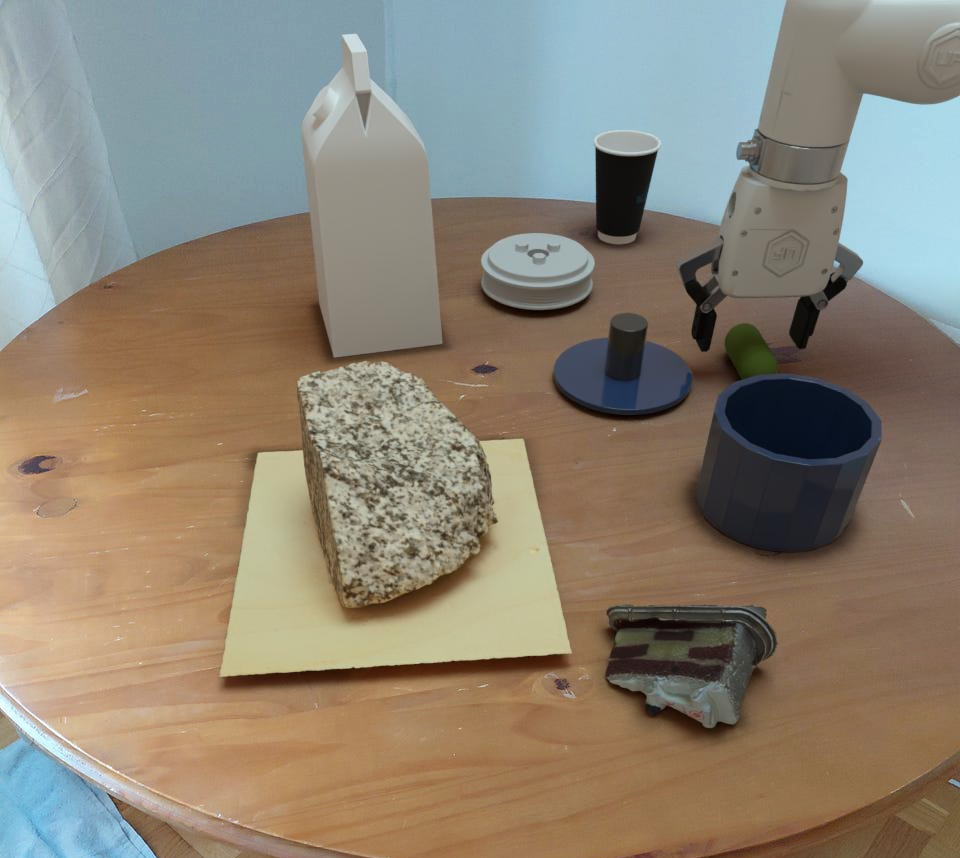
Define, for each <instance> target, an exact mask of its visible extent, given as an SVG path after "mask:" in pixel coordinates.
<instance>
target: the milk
mask: <svg viewBox="0 0 960 858" xmlns="http://www.w3.org/2000/svg"><path fill="white" fill-rule="evenodd" d="M341 54H342V55H341V56H342V57H341V58H342V59H341V61H342V67H341V68H340V69H339V70H338V72H337V73H336V74H335V76H334V77H333V78H332V79H331V81H330V82H329V83H328V85H325V86H323V88H321V90H320V91H319V92H318V94H317V95H316V97H314V100H313V102H312V104H311V106H310V107H309V109H308V110H307V111H306V114H305V116H304V118H303V120H302V123H301V143H302V153H303V160H304V161H303V163H304V170H305V171H304V173H305V181H306V190H307V200H308V209H309V218H310V229H311V238H312V249H313V258H314V266H315V267H314V268H315V277H316V286H317V294H318V304H319V308H320V311H321V316H322V320H323V322H324V326H325V331H326V334H327V338H328V341H329V342H328V343H329V345H330V349H331V353H332V357H333V358H334V359H336V358H343V357H351V356H359V355H366V354H374V353H382V352H383V353H384V352H391V351H397V350H406V349H414V348H422V347H430V346H438V345H443V344H444V341H443V331H442V319H441V318H442V317H441V308H440V307H441V306H440V295H439V294H440V293H439V281H438V269H437V257H436V256H437V255H436V245H435V231H434V220H433V218H434V217H433V207H432V194H431V193H432V192H431V180H430V168H429V161H428V155H427V152H426V146H425V143H424V141H423V140H422V138H421V136H420V134H419V133H418V131H417V130H416V128H415V126H414V124H413V122H412V121H411V120H410V118H409V116H408V115H407V114H406V113H405V112H404V110H402V108H401V107H400V106H399V105H398V104H397V103H396V102H395V101H394V99H393V98H391V97H390V96H389V95H388V94H387V93H386V92H385V91H384V90H383V89H382V88H381V87H380V86H379V85H378V84H377V83H376V82H375V81H374V80H373V79H372V78H371V74H370V66H369V55H368V51H367V49H366V47H365V45H364V43H363V42H362V40H361V38H360V37H359V35H358V33H348V34H347V33H346V34H341Z"/></svg>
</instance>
